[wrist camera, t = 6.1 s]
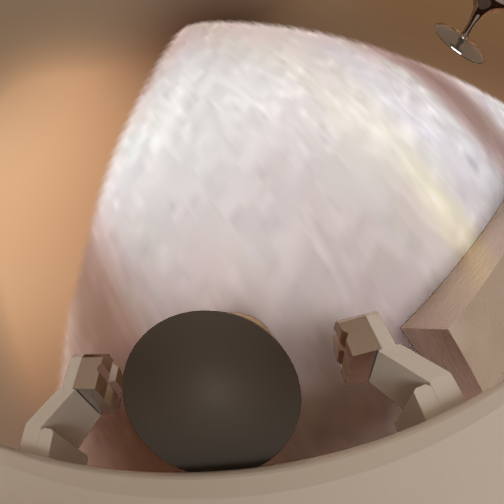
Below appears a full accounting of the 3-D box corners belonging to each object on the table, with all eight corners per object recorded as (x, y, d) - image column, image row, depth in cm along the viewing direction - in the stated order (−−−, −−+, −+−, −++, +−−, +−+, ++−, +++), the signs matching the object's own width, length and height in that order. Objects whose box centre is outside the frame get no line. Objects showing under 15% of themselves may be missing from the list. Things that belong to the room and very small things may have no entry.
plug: (279, 379, 15) (311, 463, 5) (206, 389, 15) (144, 476, 5) (268, 308, 16) (285, 296, 6) (195, 318, 16) (109, 320, 6)
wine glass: (486, 49, 22) (534, -23, 7) (485, 76, 20) (547, -9, 6) (435, 14, 23) (472, -67, 8) (426, 34, 21) (473, -64, 7)
